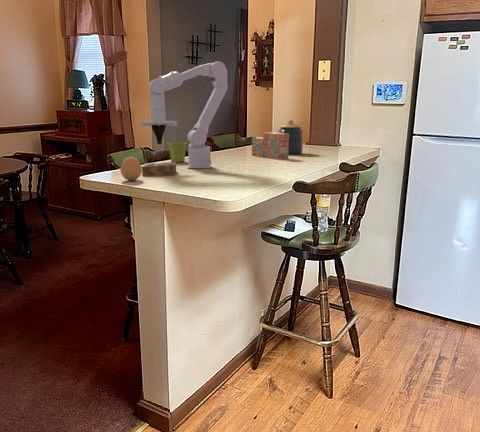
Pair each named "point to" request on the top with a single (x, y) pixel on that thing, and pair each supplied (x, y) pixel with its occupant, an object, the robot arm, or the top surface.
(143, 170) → the socket block
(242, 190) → the top surface
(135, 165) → the egg
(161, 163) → the peg
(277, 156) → the stack of blocks
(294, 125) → the canister
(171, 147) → the plant pot
